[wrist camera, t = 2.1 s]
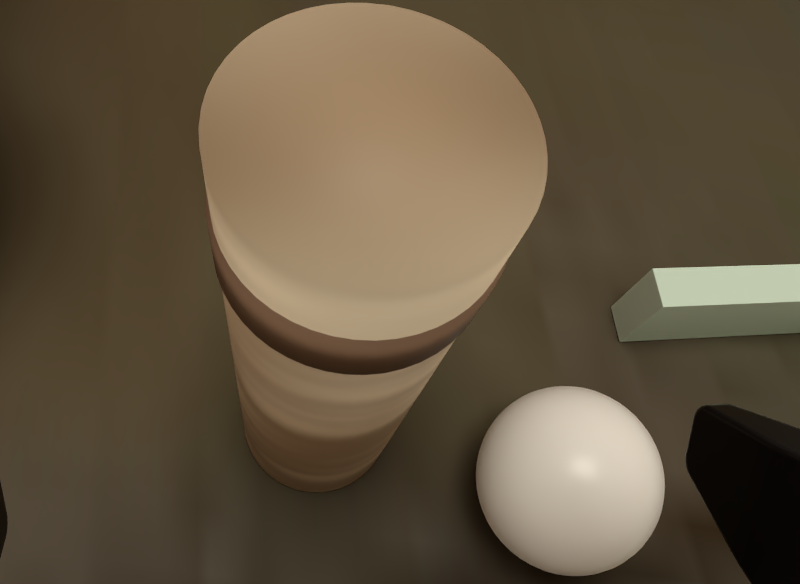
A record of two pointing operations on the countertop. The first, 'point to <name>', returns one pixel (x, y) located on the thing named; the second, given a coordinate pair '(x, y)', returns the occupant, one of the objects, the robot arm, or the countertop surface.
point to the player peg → (357, 220)
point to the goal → (710, 303)
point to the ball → (570, 481)
